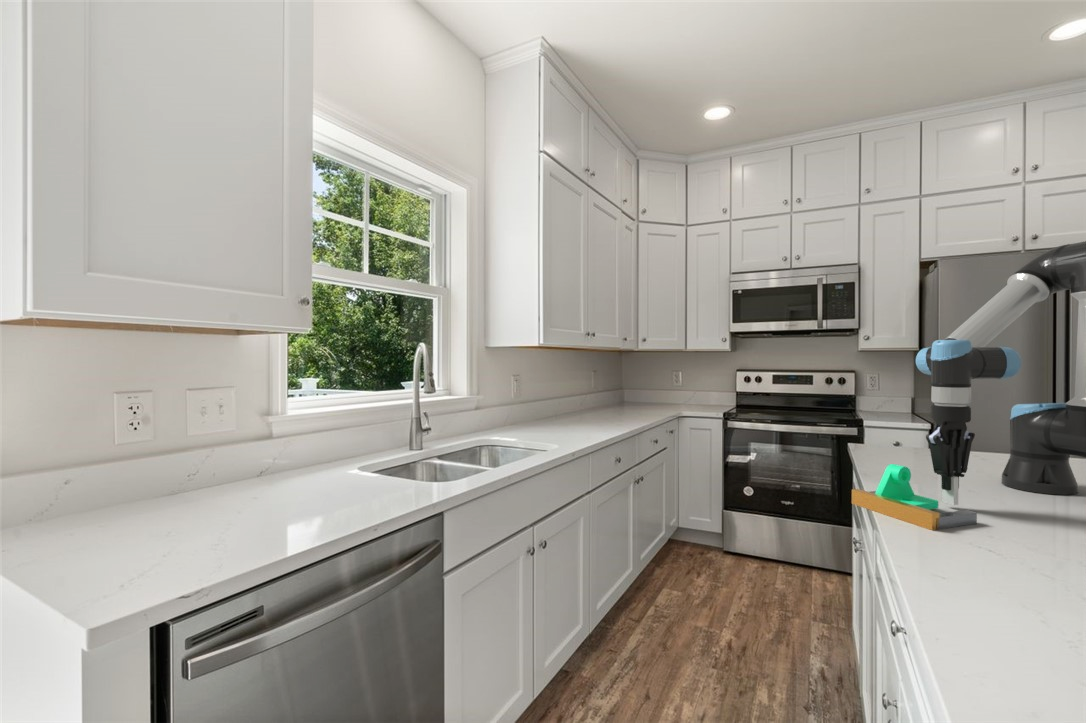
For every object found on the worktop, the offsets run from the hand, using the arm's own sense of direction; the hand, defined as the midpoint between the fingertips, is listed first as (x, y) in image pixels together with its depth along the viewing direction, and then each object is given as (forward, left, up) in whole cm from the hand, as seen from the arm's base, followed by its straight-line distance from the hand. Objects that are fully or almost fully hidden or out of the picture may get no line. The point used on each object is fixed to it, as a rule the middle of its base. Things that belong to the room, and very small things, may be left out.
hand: (950, 503), depth 126 cm
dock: (+12, 0, -1) cm, 12 cm away
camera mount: (+11, -2, -2) cm, 11 cm away
